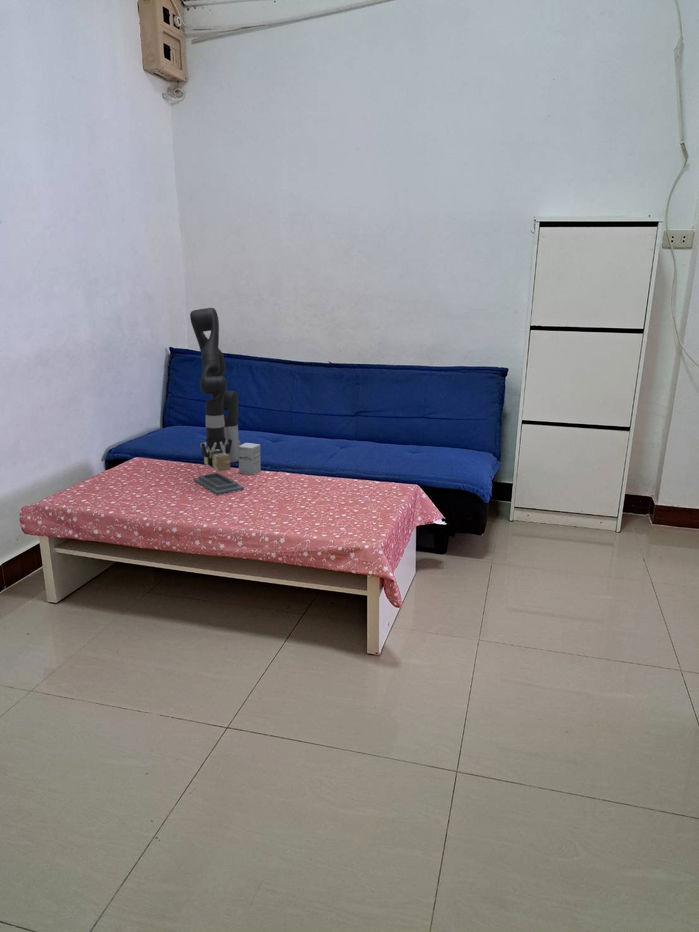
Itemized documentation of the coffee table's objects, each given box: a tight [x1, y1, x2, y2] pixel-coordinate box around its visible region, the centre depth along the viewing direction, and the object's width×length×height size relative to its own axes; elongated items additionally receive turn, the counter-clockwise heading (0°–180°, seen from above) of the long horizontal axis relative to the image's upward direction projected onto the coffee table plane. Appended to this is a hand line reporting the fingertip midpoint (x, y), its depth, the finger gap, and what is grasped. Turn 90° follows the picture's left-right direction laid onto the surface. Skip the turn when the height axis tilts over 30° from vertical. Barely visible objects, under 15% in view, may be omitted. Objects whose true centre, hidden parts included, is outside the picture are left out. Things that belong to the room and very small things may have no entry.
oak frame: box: [203, 448, 231, 472], centre depth 273 cm, size 14×5×6 cm, turn 37°
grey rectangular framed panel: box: [193, 471, 244, 496], centre depth 276 cm, size 22×12×3 cm, turn 37°
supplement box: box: [238, 442, 262, 476], centre depth 293 cm, size 7×7×13 cm
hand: (216, 464), depth 274 cm, fingers closed on oak frame, 5 cm apart
